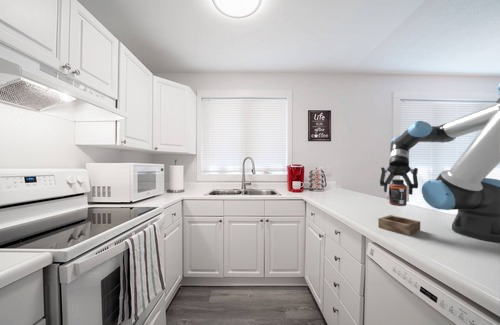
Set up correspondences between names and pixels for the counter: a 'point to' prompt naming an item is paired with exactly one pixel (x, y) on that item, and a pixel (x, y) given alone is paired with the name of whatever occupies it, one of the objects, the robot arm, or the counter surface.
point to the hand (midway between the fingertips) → (397, 198)
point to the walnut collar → (399, 224)
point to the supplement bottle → (397, 193)
